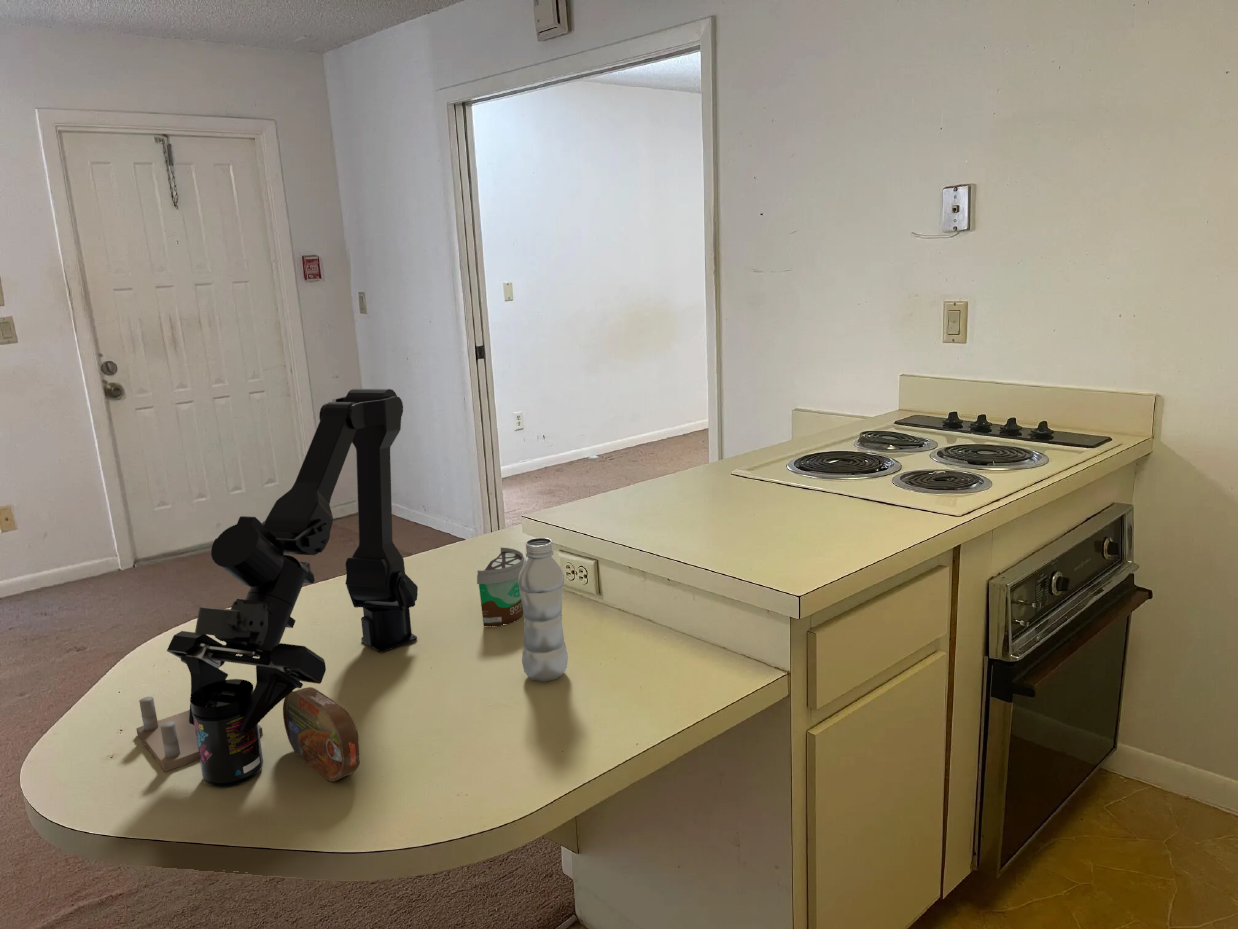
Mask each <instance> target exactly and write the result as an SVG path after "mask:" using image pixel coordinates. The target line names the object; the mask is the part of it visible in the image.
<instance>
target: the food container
mask: <svg viewBox="0 0 1238 929" xmlns="http://www.w3.org/2000/svg"><path fill="white" fill-rule="evenodd" d="M526 561H527V559H526V556H524V553H523V552H521V551H520V550H518V549H515V548H509V547H502V546H501V547H500V553H499V554H498V556H497V557H496V558H494V559H492V560H491V561H490V562H489V563H488V564H487V566H486V567H485V569H484V570H480V569H479V570H477V574H476V584H477V585H478V590H479V597H480V606H481V615H482V623H483V627H484V626H491V627H490V628H493V627H492V626H497V627H501V625H503V624H508V625H510V623H511V624H513V623H515V622H514V621H516V622H517V620H518V621H519V620H521V619H522V617H524V614H523V605H522V600H521V595H520V590H519V585H518V577H519V573H520V571H521V569H522V567H523V565H524V564H525V562H526ZM503 626H504V625H503Z"/></svg>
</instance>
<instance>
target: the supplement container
mask: <svg viewBox="0 0 1238 929" xmlns="http://www.w3.org/2000/svg"><path fill="white" fill-rule="evenodd" d="M254 689H255V687H254V685H253V683H252V682H251V681H249V680H246V679H239V678H230V679H226V680H222V681H218V682H214V683H211V684H208V685H206V686H204V687H202V688H200V689H198V690H197V691H195V692H194V693H193V694H192V696H191V695H190V697H189V702H190V703H191V709H192V715H193V720H194V726H195V732H196V739H197V745H198V751H199V758H200V759H199V764H200V770H201V777H202V779H203V781H204V782H205V783H207V785H210V786H212V787H213V788H230V787H231V788H232V787H235V786H239V785H242V784H244V783H246V782H248V781H251V780H252V779H253V778H255V777H256V776H258V774H259V773H260V771H261V770H262V768H263V765H264V755H263V749H262V742H261V736H260V733H259V726H258V724H259V723H258V724H257V725H256V726H255V727H254V728H253V729H252V730H251V731H250V732H249V733H247V734H245V733H242V732H240V728H241V724H242V720H243V717H244V714H245V712H246V709H247V707H248V704H249V702H250V699H251V697H252V694H253V692H254ZM190 703H189V704H190Z"/></svg>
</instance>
